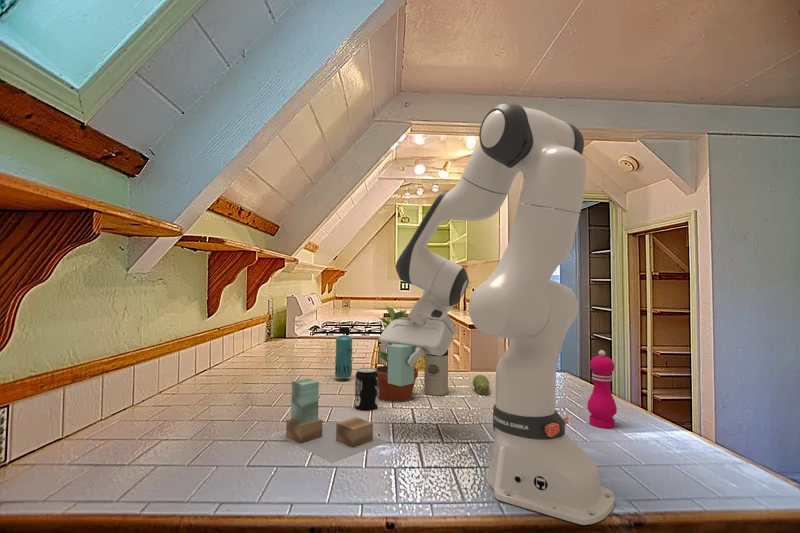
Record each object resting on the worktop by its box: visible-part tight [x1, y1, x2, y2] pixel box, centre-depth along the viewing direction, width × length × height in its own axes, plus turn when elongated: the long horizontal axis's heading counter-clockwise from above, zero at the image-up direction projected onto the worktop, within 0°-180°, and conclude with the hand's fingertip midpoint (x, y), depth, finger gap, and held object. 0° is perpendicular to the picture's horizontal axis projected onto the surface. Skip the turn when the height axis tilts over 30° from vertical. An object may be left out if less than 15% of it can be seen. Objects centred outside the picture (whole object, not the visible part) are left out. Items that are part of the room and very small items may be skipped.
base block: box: [336, 416, 374, 447], centre depth 99 cm, size 6×6×4 cm
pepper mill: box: [587, 349, 618, 429], centre depth 116 cm, size 7×7×20 cm
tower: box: [285, 378, 323, 444], centre depth 101 cm, size 6×6×13 cm
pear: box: [472, 374, 491, 396], centre depth 148 cm, size 6×5×10 cm
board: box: [280, 420, 388, 464], centre depth 100 cm, size 20×16×1 cm
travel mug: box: [423, 349, 449, 397], centre depth 145 cm, size 8×8×18 cm
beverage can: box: [354, 367, 379, 412], centre depth 125 cm, size 7×7×12 cm
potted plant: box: [375, 304, 419, 402], centre depth 140 cm, size 15×15×30 cm
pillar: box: [387, 344, 415, 386], centre depth 103 cm, size 4×4×9 cm
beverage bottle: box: [334, 326, 353, 379], centre depth 162 cm, size 6×7×20 cm
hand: (399, 362), depth 103 cm, fingers closed on pillar, 4 cm apart
